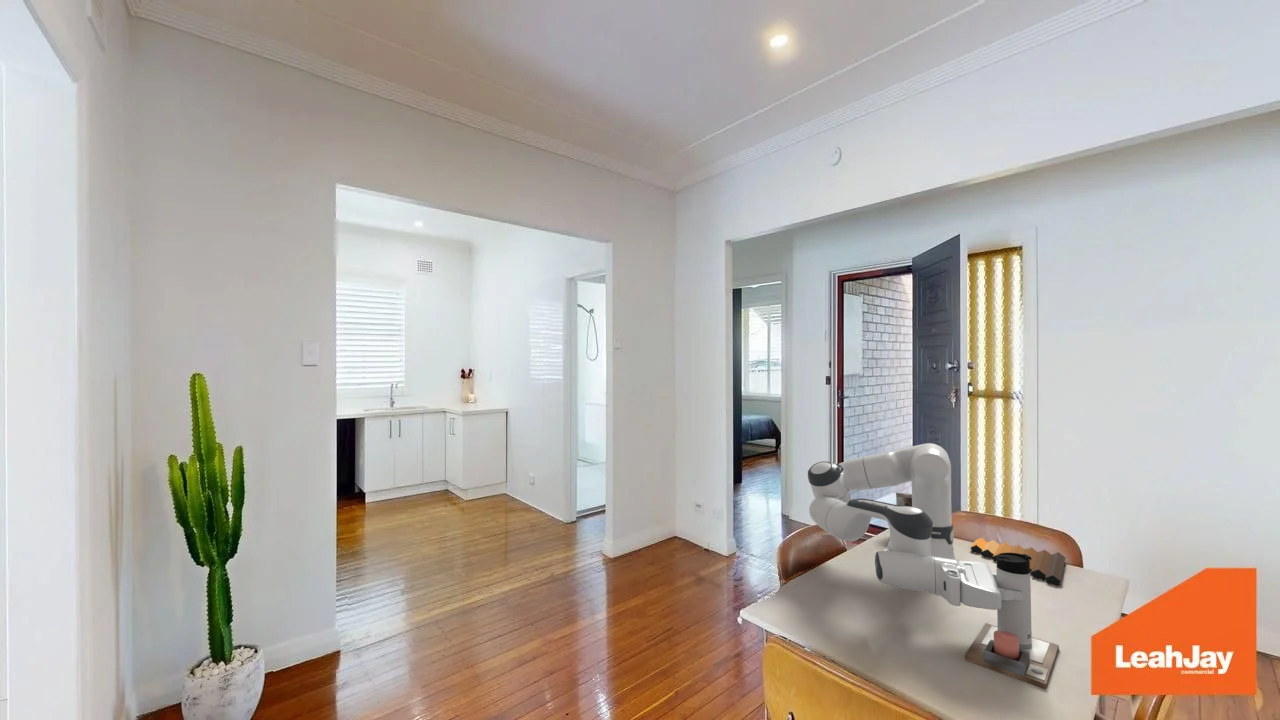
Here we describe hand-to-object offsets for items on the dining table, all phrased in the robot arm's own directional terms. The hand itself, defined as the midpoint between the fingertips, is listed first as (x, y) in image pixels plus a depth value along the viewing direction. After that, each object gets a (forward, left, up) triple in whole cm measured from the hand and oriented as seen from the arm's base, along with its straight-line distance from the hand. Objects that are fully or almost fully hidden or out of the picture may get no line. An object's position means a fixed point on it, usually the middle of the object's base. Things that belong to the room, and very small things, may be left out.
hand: (1019, 589), depth 114 cm
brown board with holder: (-1, -4, -14) cm, 14 cm away
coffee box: (-43, +63, -14) cm, 77 cm away
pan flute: (-11, +60, -14) cm, 63 cm away
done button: (-1, -11, -11) cm, 15 cm away
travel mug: (-1, 0, -12) cm, 13 cm away
